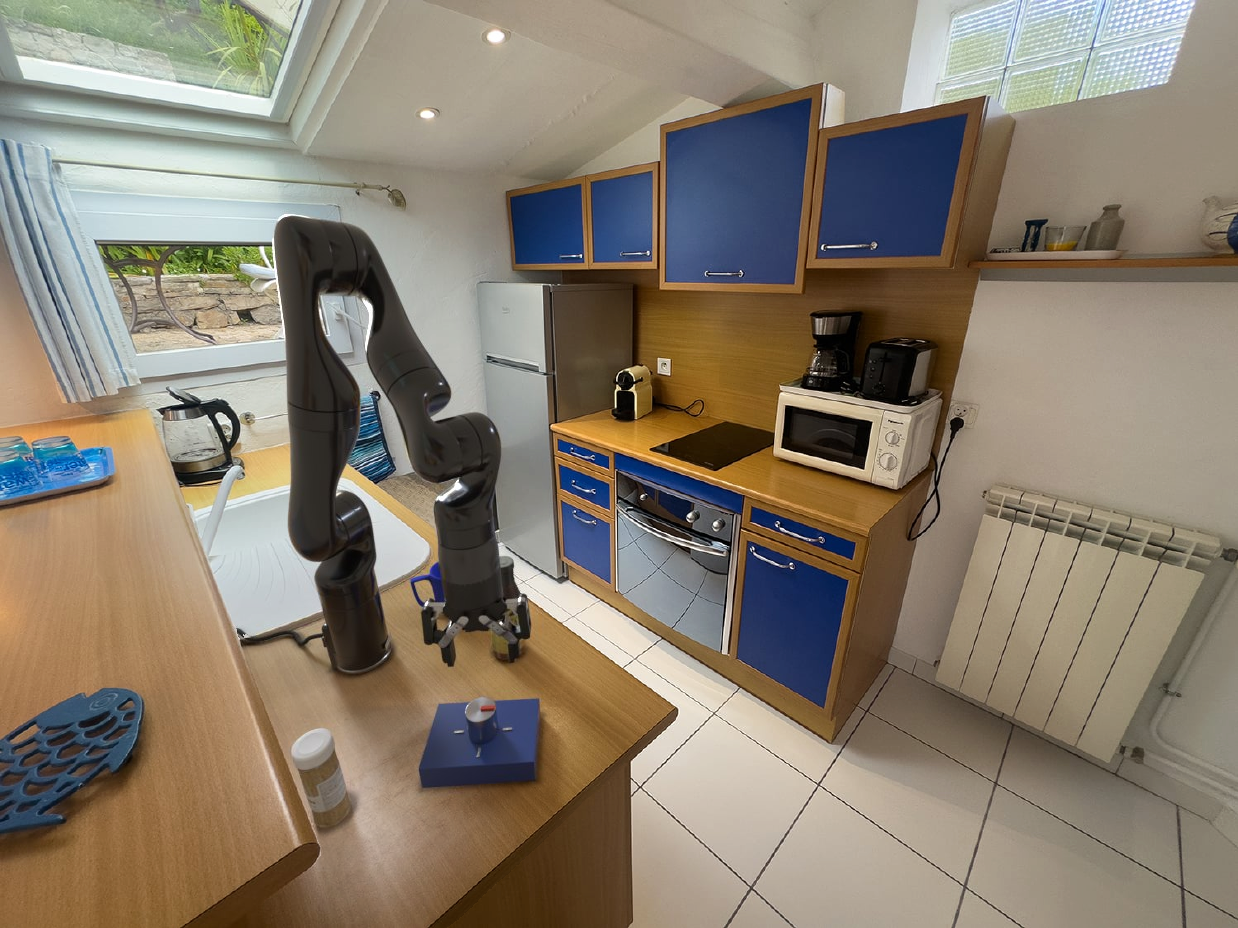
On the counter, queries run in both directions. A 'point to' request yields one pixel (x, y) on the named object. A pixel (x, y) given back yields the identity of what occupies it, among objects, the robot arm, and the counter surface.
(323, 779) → the sprinkles bottle
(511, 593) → the sauce bottle
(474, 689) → the counter surface
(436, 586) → the mug
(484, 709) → the silver pointer knob
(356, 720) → the counter surface
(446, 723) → the blue knob base block
